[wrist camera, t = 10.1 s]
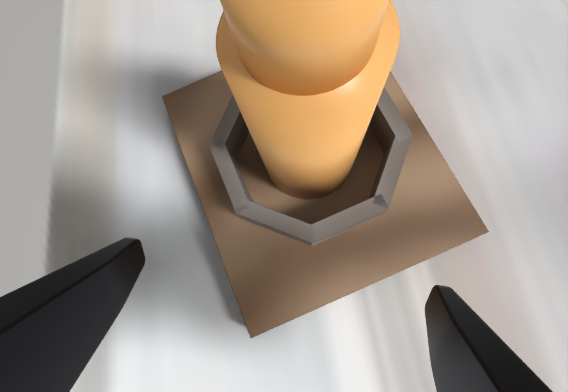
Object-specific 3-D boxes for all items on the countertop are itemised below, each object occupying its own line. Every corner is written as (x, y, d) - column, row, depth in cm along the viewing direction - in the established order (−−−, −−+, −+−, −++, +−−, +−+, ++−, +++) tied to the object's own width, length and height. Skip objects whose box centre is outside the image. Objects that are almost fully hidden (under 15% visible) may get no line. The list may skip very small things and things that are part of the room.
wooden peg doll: (370, 149, 18) (502, -123, 6) (316, 217, 17) (331, 84, 5) (301, 102, 19) (281, -211, 7) (248, 165, 19) (116, -53, 6)
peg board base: (474, 234, 18) (519, 225, 14) (255, 332, 18) (240, 350, 14) (351, 30, 22) (360, -22, 18) (172, 108, 22) (141, 73, 18)
